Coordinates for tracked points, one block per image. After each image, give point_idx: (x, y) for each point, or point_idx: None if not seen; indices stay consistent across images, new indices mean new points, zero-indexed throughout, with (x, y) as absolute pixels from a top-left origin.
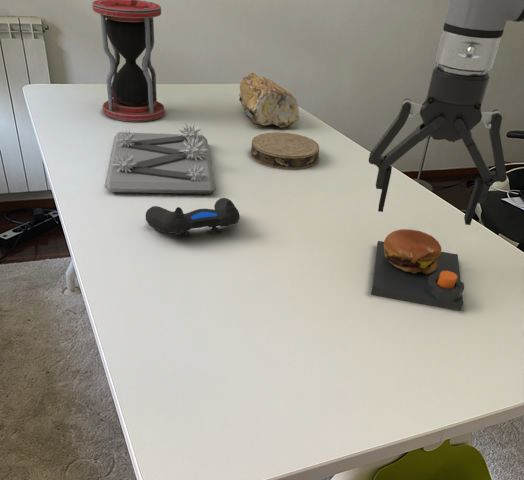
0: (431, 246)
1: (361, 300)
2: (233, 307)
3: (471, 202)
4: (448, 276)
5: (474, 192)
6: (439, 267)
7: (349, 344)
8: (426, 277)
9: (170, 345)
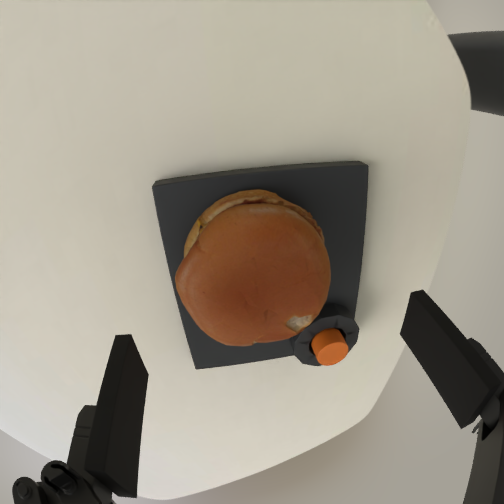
0: (304, 307)
1: (186, 374)
2: (66, 419)
3: (434, 371)
4: (331, 359)
5: (451, 392)
6: None
7: (202, 432)
8: None
9: None
